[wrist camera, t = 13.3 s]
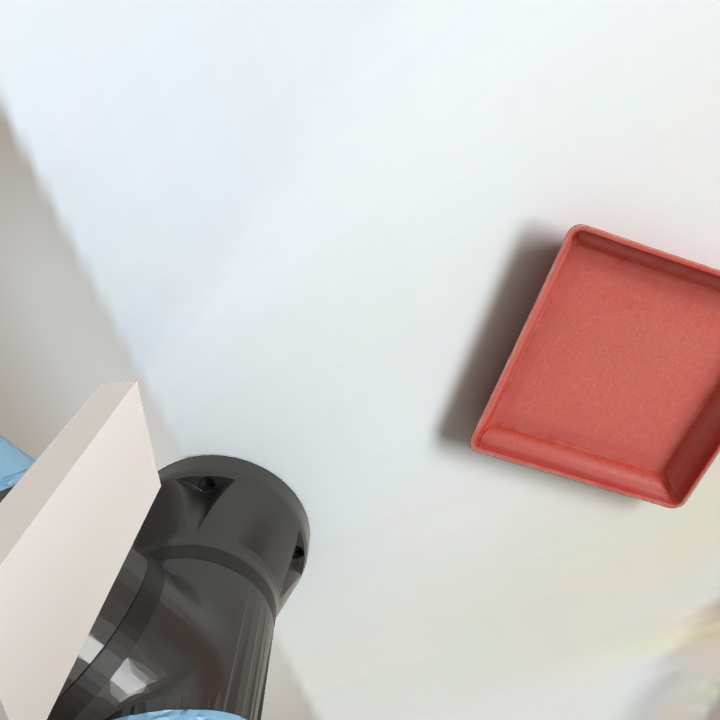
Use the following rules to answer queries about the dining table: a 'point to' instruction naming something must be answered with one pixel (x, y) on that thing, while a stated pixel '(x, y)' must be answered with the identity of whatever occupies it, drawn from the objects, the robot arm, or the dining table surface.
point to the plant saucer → (614, 372)
